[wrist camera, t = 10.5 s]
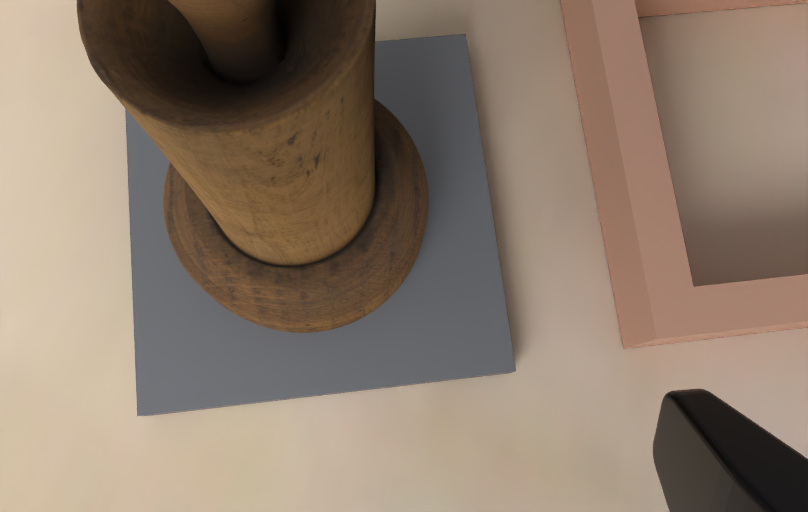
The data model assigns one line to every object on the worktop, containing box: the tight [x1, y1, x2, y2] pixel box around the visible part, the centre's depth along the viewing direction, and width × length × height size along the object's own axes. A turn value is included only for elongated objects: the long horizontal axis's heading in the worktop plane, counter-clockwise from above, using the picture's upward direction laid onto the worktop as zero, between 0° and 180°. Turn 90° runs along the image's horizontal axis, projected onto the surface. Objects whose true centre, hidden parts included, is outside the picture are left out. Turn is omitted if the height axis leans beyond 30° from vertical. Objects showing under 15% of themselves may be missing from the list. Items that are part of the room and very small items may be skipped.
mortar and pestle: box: [77, 0, 428, 333], centre depth 12 cm, size 7×6×18 cm
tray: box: [560, 0, 808, 349], centre depth 21 cm, size 11×11×2 cm
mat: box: [125, 34, 516, 416], centre depth 21 cm, size 10×10×1 cm
